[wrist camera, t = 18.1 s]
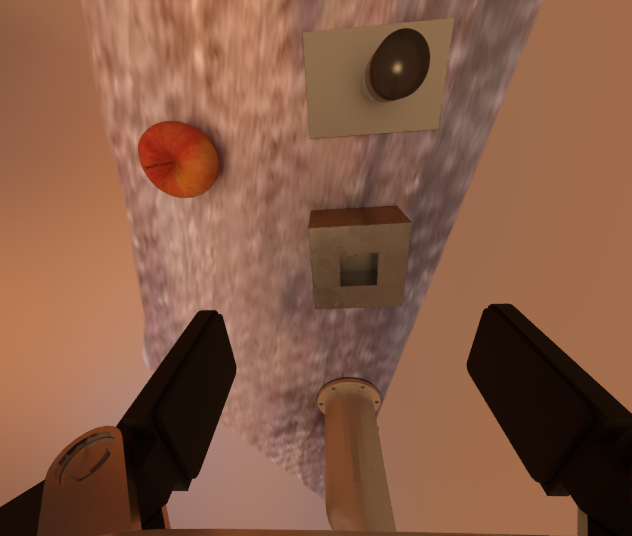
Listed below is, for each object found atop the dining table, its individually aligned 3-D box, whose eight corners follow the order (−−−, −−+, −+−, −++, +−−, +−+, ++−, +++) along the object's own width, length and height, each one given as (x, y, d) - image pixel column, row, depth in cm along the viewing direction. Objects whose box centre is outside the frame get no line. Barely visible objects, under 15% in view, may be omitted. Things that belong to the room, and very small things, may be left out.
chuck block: (390, 279, 38) (401, 306, 32) (316, 282, 39) (315, 309, 33) (396, 205, 33) (412, 222, 27) (310, 210, 33) (308, 228, 28)
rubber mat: (435, 129, 28) (438, 129, 28) (310, 138, 29) (310, 138, 29) (451, 20, 24) (454, 17, 23) (303, 34, 25) (302, 32, 24)
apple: (237, 181, 32) (213, 197, 25) (184, 193, 33) (146, 212, 26) (214, 114, 28) (178, 110, 21) (154, 130, 29) (101, 131, 22)
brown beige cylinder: (400, 89, 26) (439, 73, 17) (368, 114, 27) (389, 111, 19) (382, 50, 25) (415, 11, 16) (349, 79, 26) (362, 57, 17)
